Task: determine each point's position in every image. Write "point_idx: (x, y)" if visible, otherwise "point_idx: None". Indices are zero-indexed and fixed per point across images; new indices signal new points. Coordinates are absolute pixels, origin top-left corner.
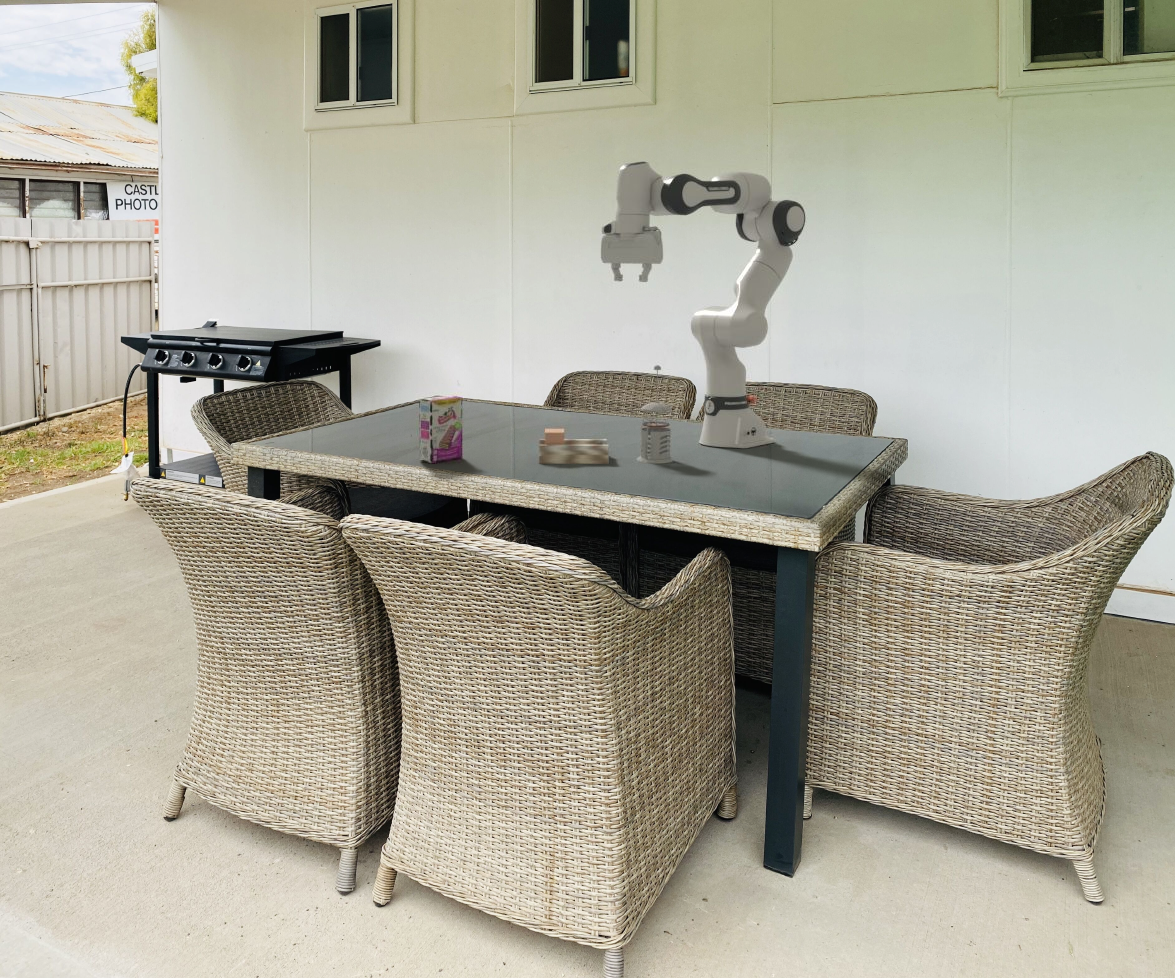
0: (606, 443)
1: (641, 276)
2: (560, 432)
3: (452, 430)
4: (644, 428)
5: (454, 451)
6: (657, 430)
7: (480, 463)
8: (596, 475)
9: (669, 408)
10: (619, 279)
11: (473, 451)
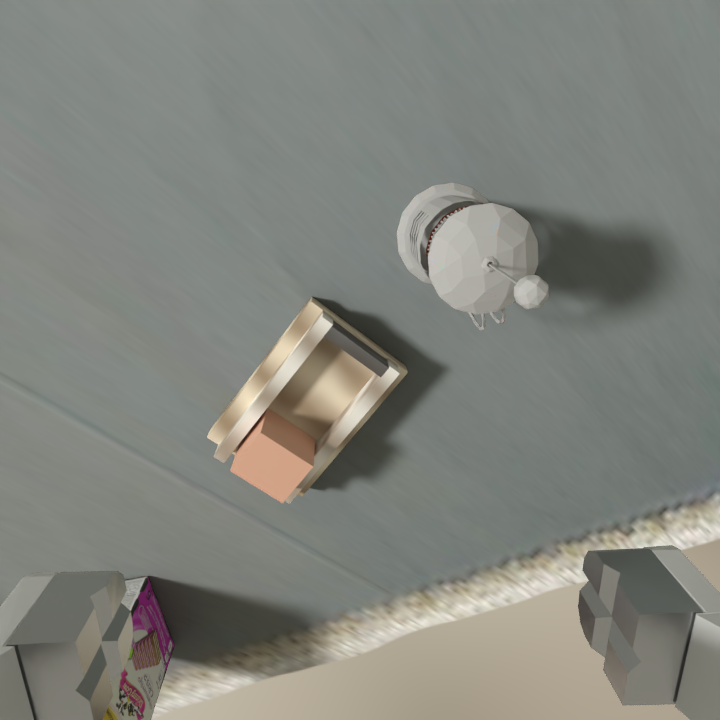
0: (373, 359)
1: (666, 683)
2: (306, 473)
3: (138, 653)
4: (419, 254)
5: (152, 608)
6: (437, 210)
7: (225, 575)
8: (483, 465)
9: (533, 241)
10: (121, 635)
11: (84, 521)
